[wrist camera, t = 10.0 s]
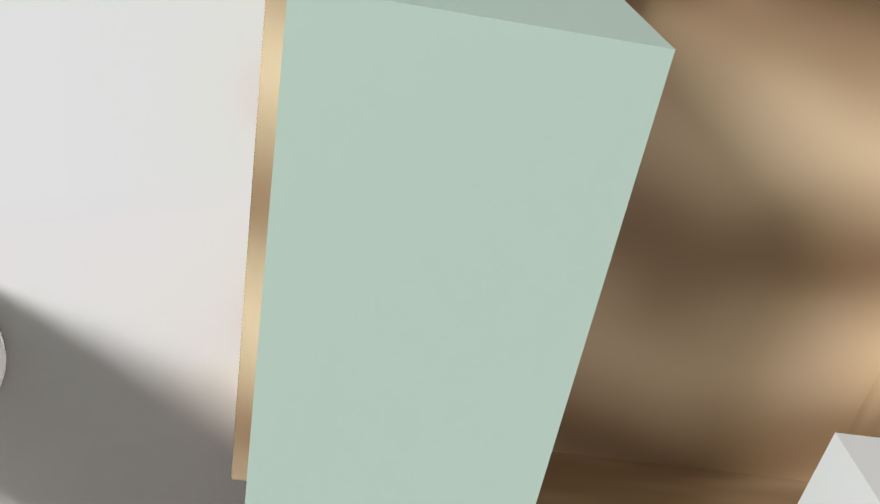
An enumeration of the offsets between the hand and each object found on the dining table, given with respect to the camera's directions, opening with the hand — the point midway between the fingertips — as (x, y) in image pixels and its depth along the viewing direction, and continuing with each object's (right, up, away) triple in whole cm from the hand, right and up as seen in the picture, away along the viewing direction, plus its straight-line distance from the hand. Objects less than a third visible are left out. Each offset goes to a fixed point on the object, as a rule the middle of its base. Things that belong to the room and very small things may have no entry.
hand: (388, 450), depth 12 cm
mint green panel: (0, +5, +10) cm, 11 cm away
